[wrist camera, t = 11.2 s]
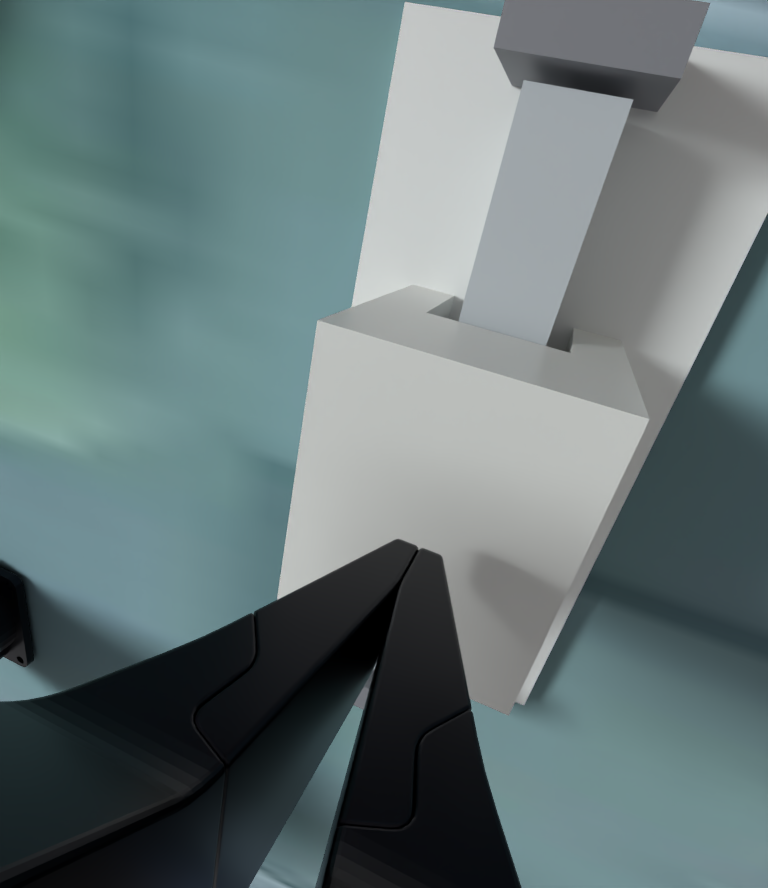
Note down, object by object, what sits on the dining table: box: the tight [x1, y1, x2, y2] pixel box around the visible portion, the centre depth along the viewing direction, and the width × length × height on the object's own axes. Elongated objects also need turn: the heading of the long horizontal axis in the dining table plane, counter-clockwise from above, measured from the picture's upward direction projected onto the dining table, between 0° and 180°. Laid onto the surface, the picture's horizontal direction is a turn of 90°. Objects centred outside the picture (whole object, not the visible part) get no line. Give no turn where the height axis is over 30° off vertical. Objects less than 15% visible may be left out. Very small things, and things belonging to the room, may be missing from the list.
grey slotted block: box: [277, 285, 650, 716], centre depth 13 cm, size 7×6×6 cm
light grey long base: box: [352, 0, 768, 710], centre depth 14 cm, size 19×9×4 cm, turn 168°
